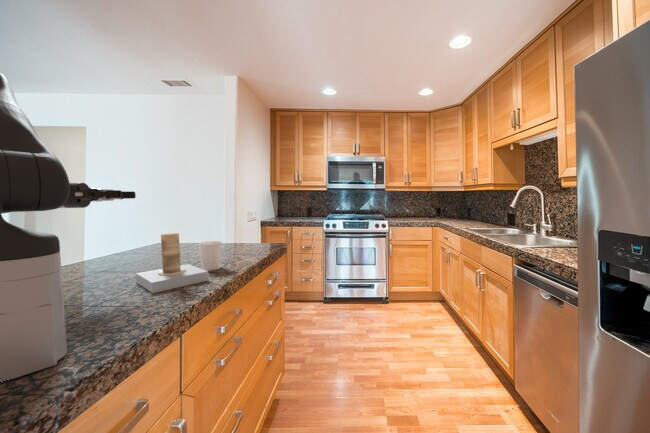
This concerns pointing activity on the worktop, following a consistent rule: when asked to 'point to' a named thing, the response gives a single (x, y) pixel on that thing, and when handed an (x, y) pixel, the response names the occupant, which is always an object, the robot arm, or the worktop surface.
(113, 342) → the worktop surface
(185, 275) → the light grey plinth
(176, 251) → the maple pillar
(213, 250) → the white cup
